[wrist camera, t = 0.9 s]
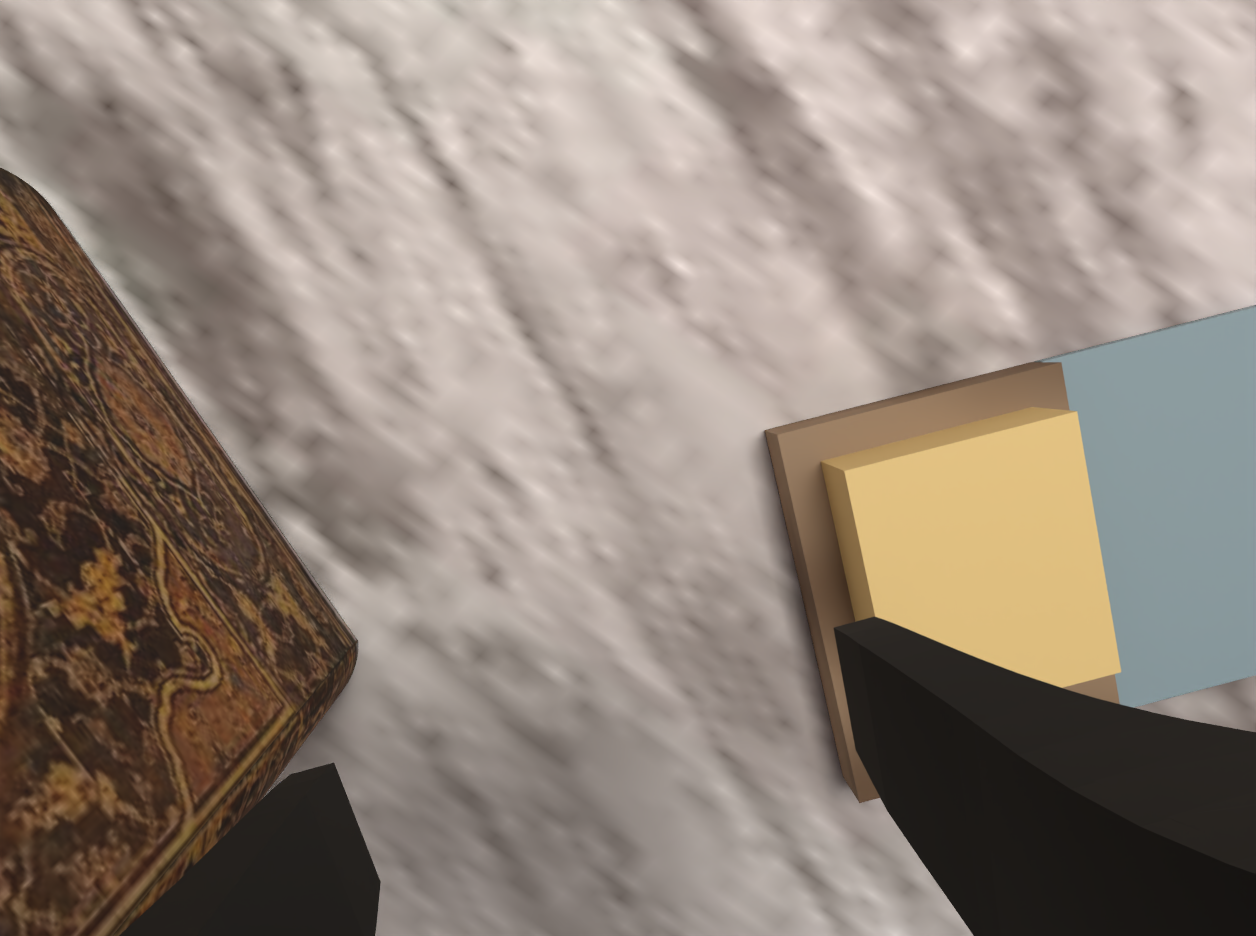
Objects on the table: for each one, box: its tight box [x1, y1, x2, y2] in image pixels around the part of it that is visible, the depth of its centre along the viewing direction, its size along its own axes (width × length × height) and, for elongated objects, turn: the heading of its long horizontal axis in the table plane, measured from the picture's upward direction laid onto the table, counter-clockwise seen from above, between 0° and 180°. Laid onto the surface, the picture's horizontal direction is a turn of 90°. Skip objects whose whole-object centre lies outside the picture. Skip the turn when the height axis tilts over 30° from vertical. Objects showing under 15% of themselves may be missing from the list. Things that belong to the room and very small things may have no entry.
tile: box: [821, 407, 1121, 688], centre depth 21 cm, size 7×6×2 cm
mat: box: [1034, 305, 1256, 707], centre depth 24 cm, size 11×8×1 cm
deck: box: [765, 362, 1120, 803], centre depth 23 cm, size 11×8×2 cm
